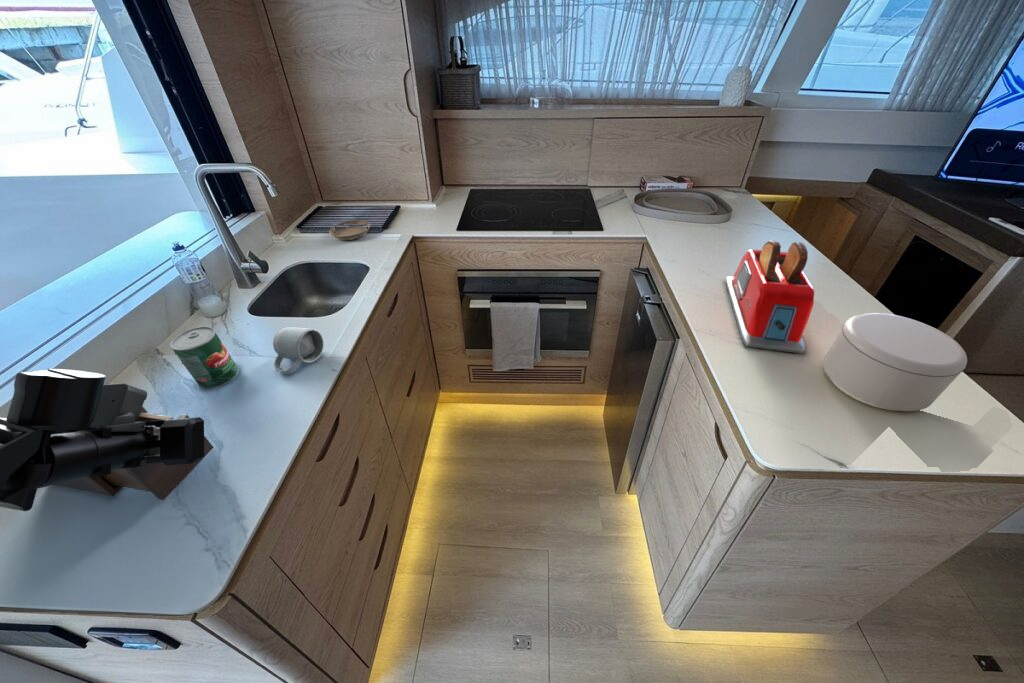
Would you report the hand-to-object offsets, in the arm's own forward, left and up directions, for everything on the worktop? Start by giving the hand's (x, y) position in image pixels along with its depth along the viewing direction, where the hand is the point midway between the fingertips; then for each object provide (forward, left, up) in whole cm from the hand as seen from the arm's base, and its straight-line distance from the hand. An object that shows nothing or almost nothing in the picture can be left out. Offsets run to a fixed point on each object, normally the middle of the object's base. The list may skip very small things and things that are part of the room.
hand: (180, 435), depth 63 cm
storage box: (-2, +18, -9) cm, 20 cm away
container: (+41, -121, -9) cm, 128 cm away
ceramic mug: (+29, +1, -9) cm, 30 cm away
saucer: (+98, +26, -9) cm, 101 cm away
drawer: (-2, +5, -8) cm, 10 cm away
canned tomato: (+21, +16, -9) cm, 28 cm away
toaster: (+64, -106, -9) cm, 125 cm away
